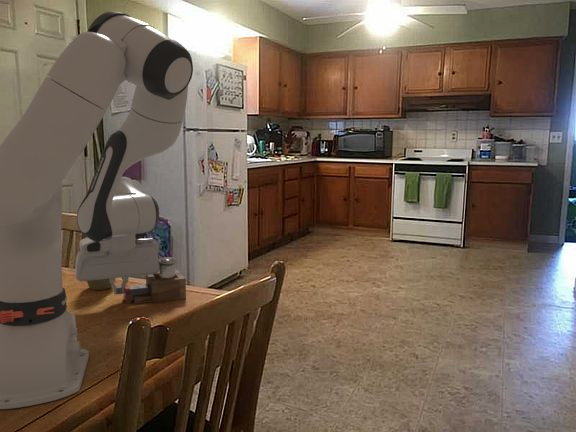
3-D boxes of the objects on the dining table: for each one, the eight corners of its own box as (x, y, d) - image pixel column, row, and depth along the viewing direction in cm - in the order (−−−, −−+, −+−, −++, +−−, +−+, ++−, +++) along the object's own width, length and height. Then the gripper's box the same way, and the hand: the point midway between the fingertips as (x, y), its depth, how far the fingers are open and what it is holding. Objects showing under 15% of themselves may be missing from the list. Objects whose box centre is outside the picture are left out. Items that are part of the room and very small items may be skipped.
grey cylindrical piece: (178, 297, 135) (178, 261, 133) (160, 299, 133) (159, 262, 131) (174, 292, 139) (174, 256, 137) (156, 294, 137) (156, 258, 135)
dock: (186, 298, 134) (185, 278, 133) (135, 305, 128) (135, 284, 127) (178, 289, 142) (177, 269, 141) (130, 294, 136) (129, 274, 135)
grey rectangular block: (155, 298, 133) (155, 285, 132) (125, 302, 130) (124, 289, 129) (153, 294, 136) (152, 281, 136) (123, 298, 133) (122, 285, 132)
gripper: (156, 235, 135) (157, 285, 138) (73, 241, 127) (75, 294, 129) (161, 240, 130) (162, 292, 132) (74, 246, 121) (77, 302, 123)
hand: (119, 293), depth 131 cm, fingers closed
